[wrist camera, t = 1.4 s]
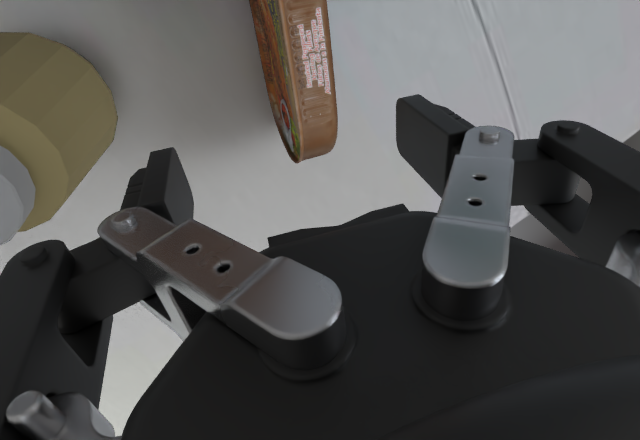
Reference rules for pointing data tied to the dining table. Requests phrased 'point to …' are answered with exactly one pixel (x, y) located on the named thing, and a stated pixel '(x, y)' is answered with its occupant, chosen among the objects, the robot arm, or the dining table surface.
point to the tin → (298, 73)
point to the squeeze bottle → (47, 127)
